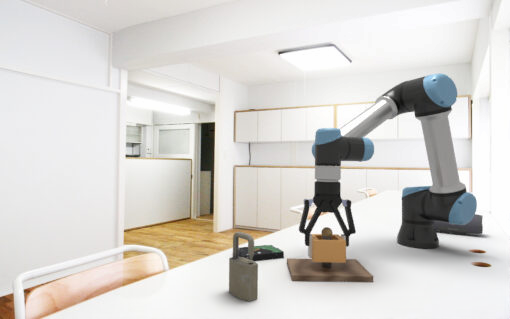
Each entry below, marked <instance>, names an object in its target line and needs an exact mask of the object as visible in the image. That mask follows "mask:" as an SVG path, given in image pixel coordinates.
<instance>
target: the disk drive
mask: <svg viewBox="0 0 510 319" xmlns="http://www.w3.org/2000/svg"><path fill="white" fill-rule="evenodd" d="M284 256H285V251H283V250H282V249H280V248H278V247H276V246H274V245H272V244H264V245H254V255H253V258H252V260H253V261H255V262H261V261H268V260H269V261H270V260H278V259H284ZM238 257H244V258H247V259H250V258H249V255H248V246H244V247H242V246H241V247H239V253H238Z"/></svg>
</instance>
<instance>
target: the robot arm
mask: <svg viewBox="0 0 510 319" xmlns="http://www.w3.org/2000/svg"><path fill="white" fill-rule="evenodd" d="M457 98H458V90H457V86H456V84H455V82H454V81H453V79H452V77H450V76H448V75H447V74H444V73H433V74H428V75H426V76H420V77H418V78H414V79H409V80H405V81H403V82H399V83H398V84H397V85H395V86H393V87H392V88H390V89H389V90H387V91H386V92H384V93H383V94H382V95H380V96H378V97H377V98H376V100H375V101H374V103H373V104H372V105H371V106H369V107H368V108H366V109H365V110H364V111H363V112H361V113H360V114H358V115H356V117H354V118H352V119H351V120H350V121H349V122H347V123H346V124H344V125H343V126H342V127H340V128H337V127H325V128H324V127H323V128H322V127H321V128H318V129H316V131H315V136H314V138H315V139H314V142H313V145H312V146H311V154H312V156H313V158H314V180H316V181H314V195H313V198H304V199H303V210H302V214H301V219H300V223H299V226H298V231H299V232H300V233H301V234H303V235H304V245H305V246H306V247H307V256H308V259H312V235H311V234H312V230H313V229H314V227H315V225H316V224H317V221H318V219H319V218H320V215H321V214H323V213H324V214H325V213H331V214H333V215H334V216H335V219H336V221H337V222H338V225H339V227H340V229H341V230H342V233H343V234H342V233H340V236H341V237H342V238H343V239H344V240H345V241H346V248H347V247H349V246H350V236H351V235H353V234H356V227H355V223H354V222H355V221H354V217H353V212H352V200H350V199H342V197H341V184H342V183H341V182H340V180H342V179H341V177H342V176H341V173H342V171H341V170H342V168H341V167H342V162H367V161H370V160H371V159H372V158H373V155H374V154H375V145H374V142H373V141H372V140H371V139H370V138H369V137H366V136H368V135H369V134H370V133H371V132H373V131H374V130H376V129H377V128H378V127H379V126H381V125H382V124H383V123H385V122H386V121H387V120H393V119H394V118H396V117H397V116H399V115H403V114H407V113H414V118H415V119H416V120H419V121H420V125H421V128H422V134H423V139H424V145H425V149H426V150H425V151H426V155H427V161H428V166H429V170H430V171H429V172H430V176H431V181H432V182H431V183H432V185H426V186H425V185H423V186H408V187H407V186H406V187H404V188H403V189H402V193H401V225H400V228H399V231H398V233H397V237H396V242H397V244H400V245H402V246H406V247H411V248H419V249H421V248H422V249H436V248H438V247H440V240H439V237H438V234H437V230H435V228H434V221H439V222H444V223H450V224H453V225H454V224H457V225H465V224H467V223H469V222H470V221H471V220H472V218H473V217H474V215H475V214H476V212H477V207H478V206H477V205H478V203H477V202H478V201H477V198H476V196H475V195H474V194H473V193H471V192H467V187H466V184H465V183H463V182H462V181H460V175H459V170H458V164H457V159H456V158H457V157H456V155H455V154H456V153H455V147H454V144H453V143H454V142H453V138H452V132H451V126H450V121H449V115H450V114H451V113H452V111H453V108H452V106H454V105H455V103H456V102H457ZM312 204H314V205H315V206H316V207H315V210H314V212H313V214H312V216H311V218H310V220H309V221H308V224H307V220H308V215H309V212H310V207H311V206H312ZM341 204H342V206H343V207H344V213H345V217H346V221H347V226H348V228H347V226H346V223H345V222H344V219H343V217H342V215H341V212H340V210H339V207H340V205H341ZM306 224H307V226H306Z"/></svg>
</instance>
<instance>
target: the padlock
mask: <svg viewBox="0 0 510 319" xmlns="http://www.w3.org/2000/svg"><path fill="white" fill-rule="evenodd" d="M239 238H240V239H242V240H245V241H247V247H248V255H249V258H250V259H247V258H244V257H238V253H239V248H240V247H239V244H240V243H239V241H240V240H239ZM254 246H255V238H254V237H253V236H252V235H251V234H249V233H246V232H242V231H236V232H235V233H234V234H233V237H232V257H229V258H228V259H229V260H228V261H229V262H228V266H229V267H228V291H229V293H230V294H231V295H232V296H234V297H236V298H237V299H240V300H243V301H246V302H251V301H255V300H258V292H259V291H258V290H259V289H258V285H259V284H258V282H259V281H258V280H259V278H258V277H259V275H258V274H259V273H258V272H259V264H258V262H257V261H253V260H252V258H253V255H254Z"/></svg>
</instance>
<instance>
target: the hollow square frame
mask: <svg viewBox="0 0 510 319" xmlns="http://www.w3.org/2000/svg"><path fill="white" fill-rule="evenodd" d="M310 234H311V235H312V258H311V259H312V260H313V261H314V262H338V263H346V259H347V247H346V241H345V240H344V239H343V238H342V237H341V234H332V240H322V233H310Z"/></svg>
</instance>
